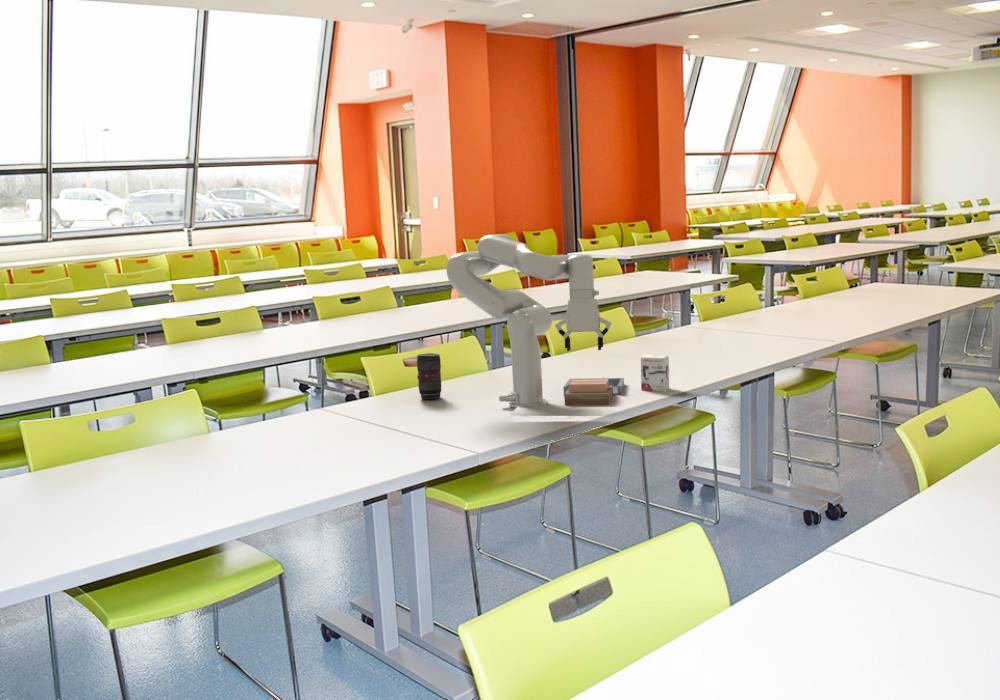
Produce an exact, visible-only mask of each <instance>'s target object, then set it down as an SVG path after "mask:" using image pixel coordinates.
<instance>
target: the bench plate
mask: <svg viewBox="0 0 1000 700" xmlns="http://www.w3.org/2000/svg"><path fill="white" fill-rule="evenodd" d="M613 386H614V385H609V387H608V390H607V392H569V388H568V390H567V391H566V393H565V394H564V393H563V397H564V405H565V406H598V405H599V406H608V405H610V403H611V401H612V400H613V396H614V395H613Z"/></svg>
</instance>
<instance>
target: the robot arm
mask: <svg viewBox="0 0 1000 700" xmlns="http://www.w3.org/2000/svg"><path fill="white" fill-rule="evenodd" d="M476 249H477V251H476V250H475V251H474V250H473V251H463V252H458V253H456V254H453V255H452V256H451V257H450V258H449V259H448V261H447V263H446V276H447V279H448V282H449V283H450V285H451V287H452V288H453V289H454V290H455V291H456V292H457V293H458V294H459V295H461V296H463V297H464V298H465V299H467V300H468V301H470V303H472V304H474V305H475V306H476V307H478V308H479V309H481V310H482V311H484V312H485V314H487V315H489V316H491V317H492V318H493V319H495V320H498V321H502V320H503V321H504V320H507V323H506V326H507V327H506V328H507V333H508V338H509V343H510V354H511V356H510V357H511V367H512V368H511V371H512V373H511V374H512V391H510V393H508V395H504V394H503V395H499V397H498V401H499V403H500V402H505V403H507V402H508V406H509V407H510V408H514V409H517V408H518V407H536V406H542V405H546V404H548V400H547V399H545V398H544V396H543V378H542V377H543V376H542V375H543V374H542V353H541V345H540V341H539V340H538V337H537V336H541V335H543V334H545V333H547V332H548V331H549V330H550V329H551V328H552V325H553V316H552V314H551V313H550V310H549V309H548V308H546V307H545V306H544V305H543V304H541V303H540V302H538V301H537V300H536V299H534V298H532V297H530V296H529V295H528V294H526V293H524V292H523V291H521V290H519V289H514V288H513V289H510V288H509V289H505V290H504V289H499V288H497V287H496V286H494V285H493V284H492V283H490V282H488V281H487V280H485V279H483V278H481V277H482V276H485V275H487V274H489V273H491V272H492V271H494V270H495V269H496V268H498V267H499V266H501V265H502V266H505V267H508V268H512V269H515V270H517V271H518V272H519V273H523V274H524V275H527V276H529V277H532V278H535V279H538V280H539V279H540V280H544V281H555V280H557V281H558V280H563V279H564V280H565V279H568V284H569V285H568V287H569V288H568V289H569V299H568V300H567V304H566V318H564V319H563V320H560V321H558V322H557V323H555V325H554V326H555V328H556V330H557V332H558V334H560V335H561V336H562V337H563V339H564V349H566V351H567V352H570V351H571V337H570V335H571V333H584V332H585V333H589V332H595V334H597V350H598V351H601V350H602V348H604V336H605V335H606V334H607V333H608V331H609V330H610V328H611V326H612V322H611V321H609V320H608V319H605V318H603V317H601V315H600V307H599V302H598V298H595V297H596V296H599V295H600V291H599V290H596V289H595V280H594V261H593V256H591V255H590V254H576V255H575V254H574V255H569V254H554V255H545V254H542V253H538V252H536V251H531V250H529V247H528V245H527V244H526V243H524V242H520V241H517V240H514V239H513V238H512V237H511V236H509V235H508V234H504V233H498V234H495V233H494V234H487V235H483V236H482V237H481V238H480V239H479V241H478V243H477V247H476ZM565 324H566V332H565V330H563V328H562V326H563V325H565ZM601 324H603V325H605V327H604V329H603V330H601V329H600V328H601Z"/></svg>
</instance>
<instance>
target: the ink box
mask: <svg viewBox="0 0 1000 700" xmlns="http://www.w3.org/2000/svg"><path fill="white" fill-rule="evenodd" d="M640 381H641V382H640V386H641V388H640V389H641V390H640V391H646V392H647V391H648V392H664V393H665V392H667V391H668V390H669V389H670V357H669V355H666V354H664V355H663V354H644V355H642V356H641V357H640Z"/></svg>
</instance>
